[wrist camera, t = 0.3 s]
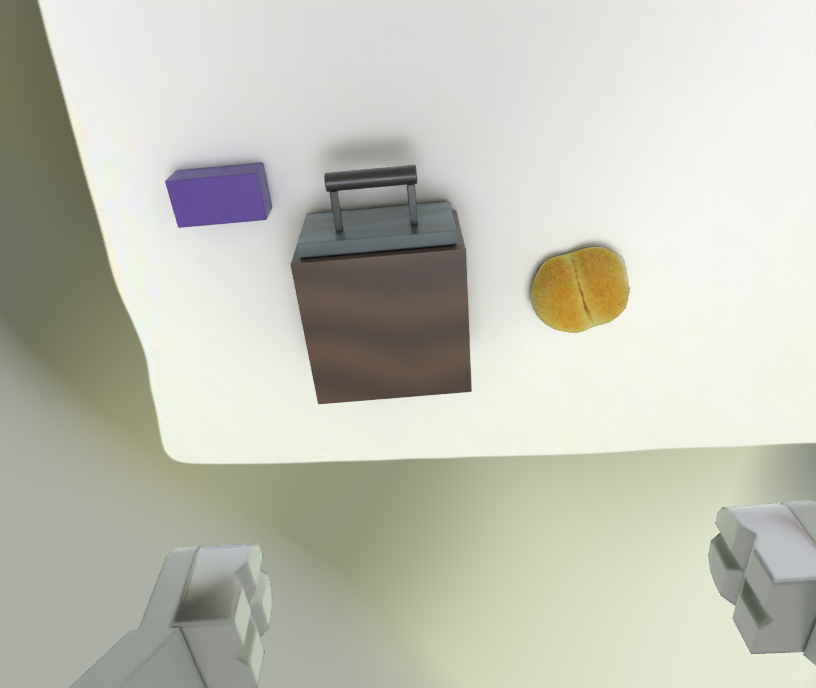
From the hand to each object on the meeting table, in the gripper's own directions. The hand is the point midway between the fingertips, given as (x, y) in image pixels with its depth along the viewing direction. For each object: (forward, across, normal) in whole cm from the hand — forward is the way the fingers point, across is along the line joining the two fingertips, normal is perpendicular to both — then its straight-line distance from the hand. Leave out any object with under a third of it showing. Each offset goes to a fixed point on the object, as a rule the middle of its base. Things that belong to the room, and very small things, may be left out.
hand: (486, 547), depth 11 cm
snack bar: (+46, +17, +7) cm, 50 cm away
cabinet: (+46, +4, +17) cm, 50 cm away
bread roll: (+46, -14, +19) cm, 52 cm away
